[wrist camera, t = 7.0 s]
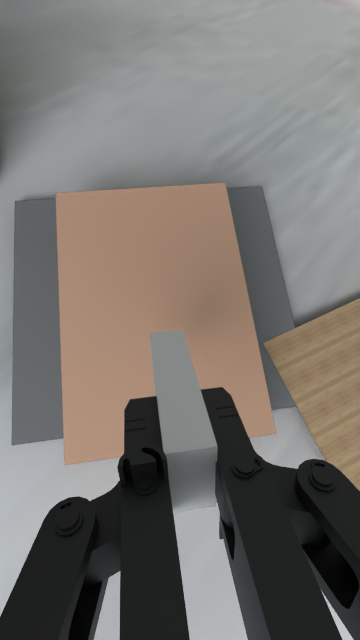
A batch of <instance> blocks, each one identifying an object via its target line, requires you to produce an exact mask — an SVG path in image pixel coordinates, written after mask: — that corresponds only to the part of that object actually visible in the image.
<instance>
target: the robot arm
mask: <svg viewBox="0 0 360 640" xmlns="http://www.w3.org/2000/svg"><path fill="white" fill-rule="evenodd" d="M149 335H150V346H151V357H152V367H153V378H154V387H155V396H152V397H144V398H136V399H130V400H129V402H128V404H127V406H126V408H125V409H124V454H123V455H122V457H121V458H120V460H119V464H118V472H119V477H120V481H119V482H118V484H117V485H116V486H115V487H114V488H113V489H112V490H111V491H109V492H107V493H106V494H104V495H102V496H100V497H98V498H96V499H94V500H92V501H88V500H87V499H85V498H82V497H71V498H67V499H65V500H63V501H61V502H59V503H58V504H56V505H55V506H54V507H53V508H52V509H51V510H50V511H49V513H48V514H47V516H46V517H45V519H44V521H43V523H42V525H41V528H40V530H39V532H38V534H37V537H36V539H35V541H34V543H33V545H32V548H31V550H30V552H29V554H28V557H27V559H26V561H25V563H24V565H23V568H22V570H21V572H20V574H19V577H18V579H17V581H16V583H15V585H14V588H13V590H12V592H11V594H10V597H9V599H8V601H7V603H6V605H5V608H4V610H3V612H2V614H1V617H0V640H94V635H95V631H96V627H97V623H98V619H99V615H100V611H101V607H102V603H103V599H104V594H105V590H106V586H107V582H108V578H109V577H110V576H112V575H114V574H115V573H117V572H119V571H121V576H120V640H190V639H189V631H188V624H187V616H186V608H185V601H184V593H183V585H182V577H181V570H180V562H179V554H178V547H177V539H176V531H175V524H174V516H173V513H177V512H183V511H189V510H195V509H201V508H207V507H213V506H216V499H217V503H218V507H219V511H220V523H219V537H220V539H224V543H225V547H226V551H227V555H228V559H229V564H230V568H231V572H232V576H233V580H234V584H235V588H236V592H237V596H238V601H239V605H240V609H241V613H242V617H243V621H244V625H245V629H246V633H247V638H248V640H342V638H341V636H340V633H339V631H338V629H337V626H336V624H335V622H334V619H333V617H332V615H331V612H330V610H329V608H328V605H327V603H326V601H325V599H324V596H323V594H322V592H323V593H324V595H325V596H326V598H327V599H328V601H329V602H330V604H331V605H332V607H333V609H334V610H335V612H336V613H337V615H338V616H339V618H340V619H341V621H342V622H343V624H344V625H345V627H346V628H347V630H348V631H349V633H350V635H351V636H352V638H353V639H354V640H360V491H359V490H358V489H357V488H356V487H355V486H354V484H353V483H352V482H351V481H350V480H349V479H348V478H347V477H346V476H345V475H344V474H343V473H342V472H341V471H340V470H339V469H338V468H336V467H335V466H334V465H332V464H330V463H328V462H326V461H323V460H317V459H311V460H306V461H304V462H303V463H302V464H300V465H299V468H298V469H294V468H287V467H280V466H276V465H272V464H270V463H268V462H266V461H265V460H263V459H262V457H260V456H259V455H258V454H257V453H256V452H255V450H254V449H253V447H252V444H251V442H250V439H249V437H248V435H247V432H246V430H245V427H244V425H243V423H242V420H241V418H240V416H239V413H238V411H237V408H236V407H235V403H234V401H233V399H232V396H231V395H230V394H229V393H228V392H227V391H226V390H225V389H224V388H223V387H217V388H209V389H201V390H200V386H199V383H198V380H197V376H196V373H195V370H194V367H193V363H192V360H191V357H190V353H189V350H188V347H187V343H186V340H185V337H184V333H183V330H175V331H166V332H156V333H149ZM321 590H322V592H321Z"/></svg>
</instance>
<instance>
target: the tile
mask: <svg viewBox="0 0 360 640" xmlns="http://www.w3.org/2000/svg"><path fill="white" fill-rule="evenodd" d="M56 221H57V251H58V281H59V312H60V342H61V372H62V403H63V433H64V463H65V465H70V464H76V463H83V462H90V461H96V460H103V459H110V458H116V457H122V455H123V454H124V409H125V408H126V406H127V404H128V402H129V400H130V399H136V398H144V397H152V396H155V387H154V378H153V367H152V357H151V346H150V335H149V333H156V332H166V331H175V330H183V333H184V337H185V340H186V343H187V347H188V350H189V353H190V357H191V360H192V363H193V367H194V370H195V373H196V376H197V380H198V383H199V386H200V390H201V389H209V388H217V387H223V388H224V389H225V390H226V391H227V392H228V393H229V394H230V395H231V396H232V399H233V401H234V403H235V407H236V408H237V411H238V413H239V416H240V418H241V420H242V423H243V425H244V427H245V430H246V432H247V435H248V437H249V438H250V437H257V436H263V435H270V434H276V429H275V424H274V419H273V414H272V409H271V404H270V399H269V394H268V389H267V385H266V380H265V375H264V370H263V365H262V360H261V355H260V350H259V345H258V340H257V336H256V331H255V326H254V321H253V316H252V311H251V306H250V301H249V296H248V291H247V287H246V282H245V277H244V272H243V267H242V262H241V257H240V252H239V247H238V242H237V238H236V233H235V228H234V223H233V218H232V213H231V208H230V203H229V198H228V193H227V189H226V184H225V183H210V184H194V185H177V186H161V187H145V188H129V189H113V190H97V191H80V192H64V193H56Z"/></svg>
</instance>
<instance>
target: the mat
mask: <svg viewBox="0 0 360 640" xmlns="http://www.w3.org/2000/svg"><path fill="white" fill-rule="evenodd" d="M226 189H227V193H228V198H229V203H230V208H231V213H232V218H233V223H234V228H235V233H236V238H237V242H238V247H239V252H240V257H241V262H242V267H243V272H244V277H245V282H246V287H247V291H248V296H249V301H250V306H251V311H252V316H253V321H254V326H255V331H256V336H257V340H258V345H259V350H260V355H261V360H262V365H263V370H264V375H265V380H266V385H267V389H268V394H269V399H270V404H271V409H272V410H274V409H281V408H289V407H296V404H295V402H294V400H293V398H292V396H291V394H290V393H289V391H288V389H287V387H286V385H285V383H284V381H283V380H282V378H281V376H280V374H279V372H278V370H277V368H276V366H275V365H274V363H273V361H272V359H271V357H270V355H269V353H268V352H267V350H266V348H265V346H264V344H263V343H264V342H266V341H269V340H271V339H273V338H275V337H277V336H279V335H281V334H284V333H286V332H288V331H290V330H292V329H294V328H295V325H294V321H293V317H292V312H291V308H290V304H289V300H288V295H287V291H286V287H285V283H284V278H283V274H282V270H281V266H280V261H279V257H278V253H277V249H276V244H275V240H274V236H273V232H272V227H271V223H270V219H269V214H268V210H267V206H266V202H265V197H264V193H263V189H262V186H257V187H240V188H226ZM61 438H64V433H63V403H62V372H61V342H60V312H59V281H58V251H57V221H56V199H40V200H23V201H15V232H14V309H13V386H12V445H17V444H25V443H32V442H39V441H47V440H54V439H61Z"/></svg>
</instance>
